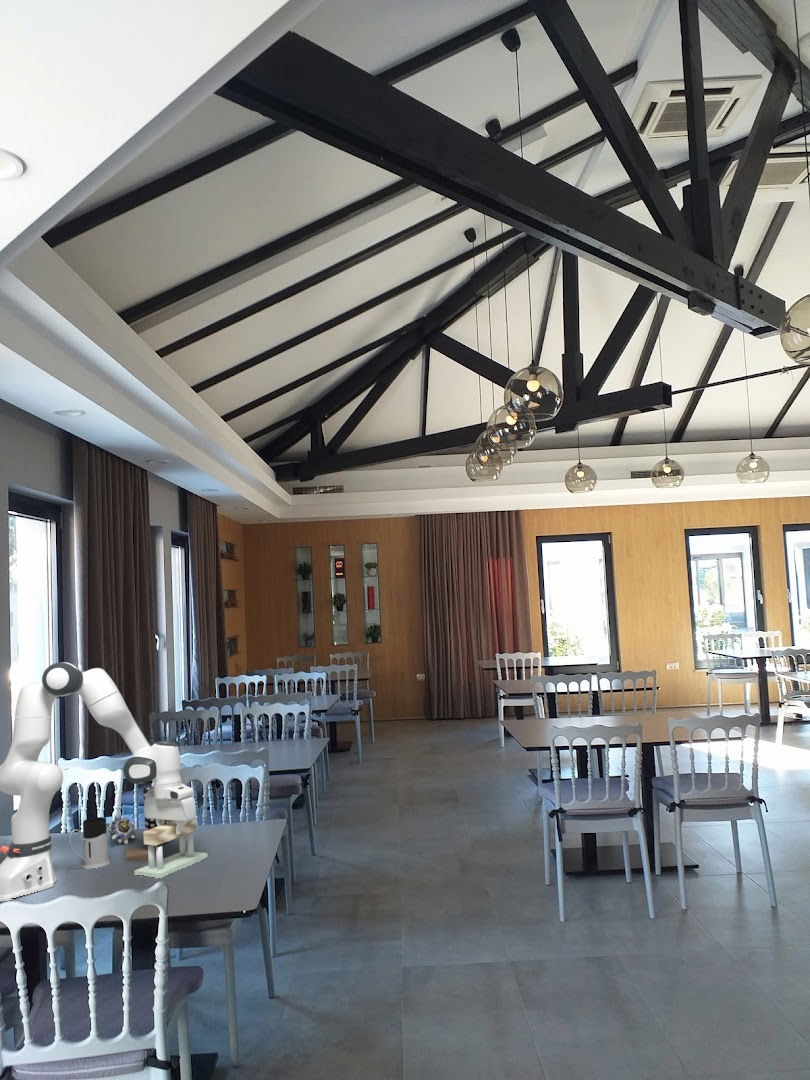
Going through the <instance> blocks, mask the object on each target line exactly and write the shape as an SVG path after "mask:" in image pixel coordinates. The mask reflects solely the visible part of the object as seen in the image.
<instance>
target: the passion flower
mask: <svg viewBox="0 0 810 1080" xmlns="http://www.w3.org/2000/svg"><path fill="white" fill-rule="evenodd" d="M134 824H135V822H134V821H130V819H128V816H125V817H124V818H122V817H119V816H118V815H115V816H114V820H113V821H112V822H110V823H109V822H108V823H107V822H106V826H107V832H109V834H110V837H109V840H110V841H111V840H112V841H113V842H115V839H116V842H117V843H118V844H119V845H120V844H122V843H123V845H125V844H126V845H128V842H129V839H135V838H136V833H135V831H136V830H137V829H138V826H135V825H134Z"/></svg>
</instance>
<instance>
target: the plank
mask: <svg viewBox="0 0 810 1080" xmlns="http://www.w3.org/2000/svg"><path fill="white" fill-rule="evenodd" d="M176 827H177V824H176V821H172V820H171V821H169V823H166V824H163V825H161V826H158V827H155V828H152V829H149V830H147V831H145V830H144V831H143V835H142V836H143V845H145V846H146V845H155V846H154V847H157V845H159V844H162V843H164V842H167V841H172V840H175V839H177V838H179V837H180V836H183V835H185V836H186V835H188V834H191V833H193V832H195V831H197V829H196V828H197V827H196V817H195V818H194V819H193V820H191V821H188V822H184V823H183V825H182V828H181V834H174V829H176Z"/></svg>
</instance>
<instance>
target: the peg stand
mask: <svg viewBox="0 0 810 1080" xmlns="http://www.w3.org/2000/svg"><path fill="white" fill-rule="evenodd" d="M178 842H179V843H178V844H179V852H177V853H174V854H172V855H169V856H167V857H165V858H163V857H164V856H163V845H161V846H154V845H149V846H147V850H148V865H145V866H142V867H140V868H137V869H136V870H134V876H135V875H144V876H149V877H148V878H150V877H155V878H154V879H158V878H160V879H162V878H164V876H165V877H166V875H167V876H169V875H171V874H170V873H172V874H173V872H174V873H176V872H178V871H177V870H179V871H181V870H183V869H186V868H187V866H188V867H190V866H193V865H194V863H195V864H196V862H197V863H199V862H201V860H202V861H203V859H204V860H206V859H208V858H209V857H208V852H198V851H195V850H194V849H195V848H194V845H195V844H194V834H193V833H188V834H185V835H183V836H180V837H178ZM186 842H187V843H186ZM186 844H187V847H186ZM207 857H208V858H207ZM205 858H206V859H205ZM182 868H183V869H182ZM180 869H181V870H180ZM175 871H176V872H175ZM168 874H169V875H168Z"/></svg>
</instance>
